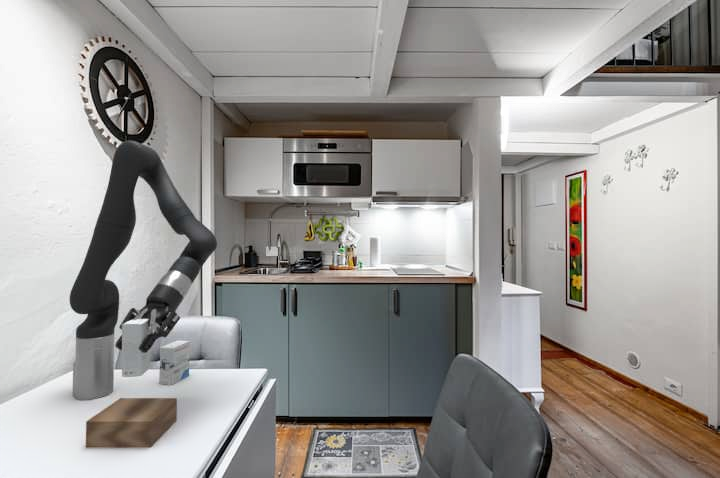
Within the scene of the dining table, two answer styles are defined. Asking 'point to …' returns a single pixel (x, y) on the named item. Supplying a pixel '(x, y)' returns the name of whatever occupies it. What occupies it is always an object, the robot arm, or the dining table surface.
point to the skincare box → (134, 348)
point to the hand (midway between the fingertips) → (130, 349)
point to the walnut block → (131, 423)
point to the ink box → (174, 362)
